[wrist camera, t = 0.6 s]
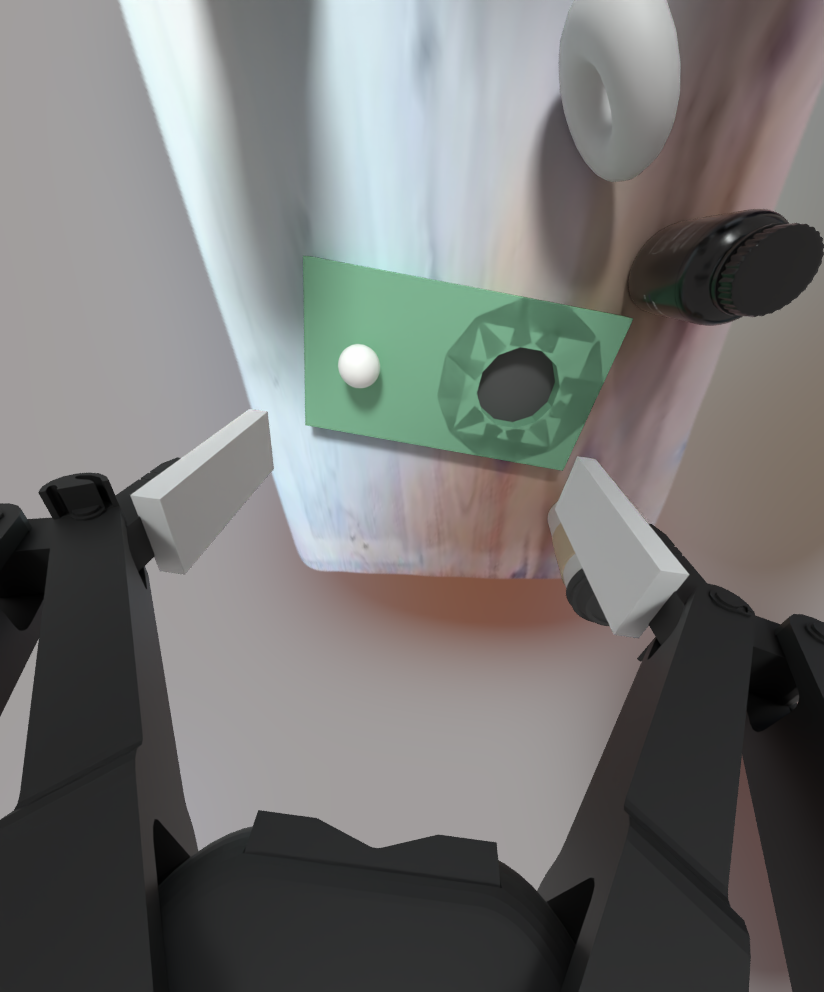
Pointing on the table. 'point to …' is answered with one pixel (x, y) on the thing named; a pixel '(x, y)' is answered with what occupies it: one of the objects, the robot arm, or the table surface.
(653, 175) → the table surface
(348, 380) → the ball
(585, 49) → the donut
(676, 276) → the supplement bottle
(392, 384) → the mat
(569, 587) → the coffee cup
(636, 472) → the table surface
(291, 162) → the table surface
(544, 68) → the table surface
